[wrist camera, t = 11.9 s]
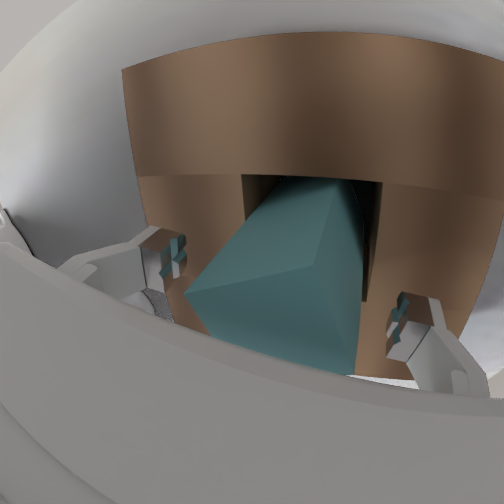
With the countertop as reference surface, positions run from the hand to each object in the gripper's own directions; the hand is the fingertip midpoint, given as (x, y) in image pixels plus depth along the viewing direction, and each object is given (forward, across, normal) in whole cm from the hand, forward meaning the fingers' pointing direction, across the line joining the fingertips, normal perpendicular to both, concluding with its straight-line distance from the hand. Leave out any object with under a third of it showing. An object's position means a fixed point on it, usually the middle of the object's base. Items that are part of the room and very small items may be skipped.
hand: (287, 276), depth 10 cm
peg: (+9, 0, 0) cm, 9 cm away
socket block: (+9, 0, 0) cm, 9 cm away
